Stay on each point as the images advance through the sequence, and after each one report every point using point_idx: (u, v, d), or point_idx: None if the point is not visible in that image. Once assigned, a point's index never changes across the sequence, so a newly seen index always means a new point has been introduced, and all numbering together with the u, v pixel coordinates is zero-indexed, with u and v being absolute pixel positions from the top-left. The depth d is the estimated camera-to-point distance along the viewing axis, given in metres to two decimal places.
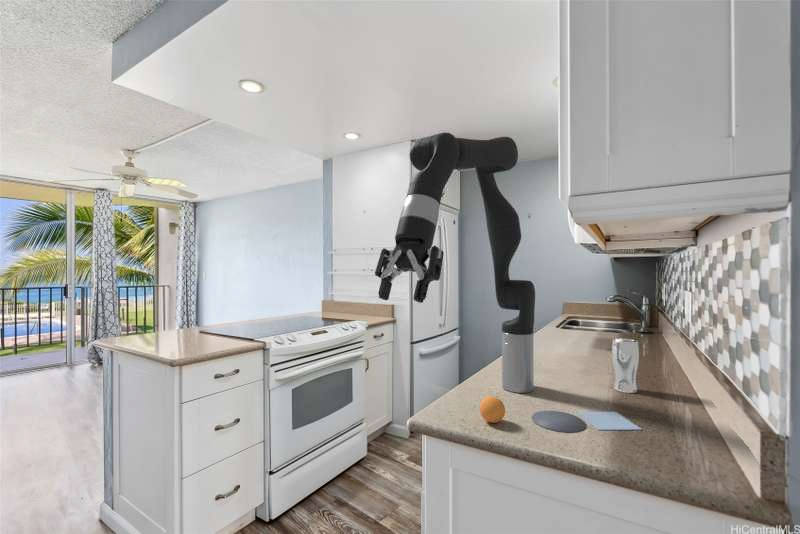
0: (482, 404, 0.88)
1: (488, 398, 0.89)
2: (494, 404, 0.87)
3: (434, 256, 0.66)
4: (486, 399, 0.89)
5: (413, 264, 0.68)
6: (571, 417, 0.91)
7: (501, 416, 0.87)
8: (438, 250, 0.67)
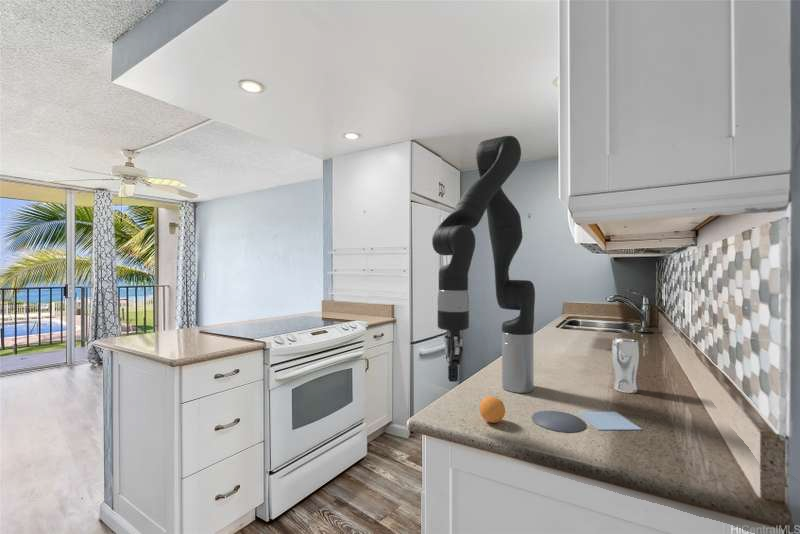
0: (482, 404, 0.88)
1: (488, 398, 0.89)
2: (494, 404, 0.87)
3: (451, 354, 0.84)
4: (486, 399, 0.89)
5: (446, 350, 0.88)
6: (571, 417, 0.91)
7: (501, 416, 0.87)
8: (454, 351, 0.83)
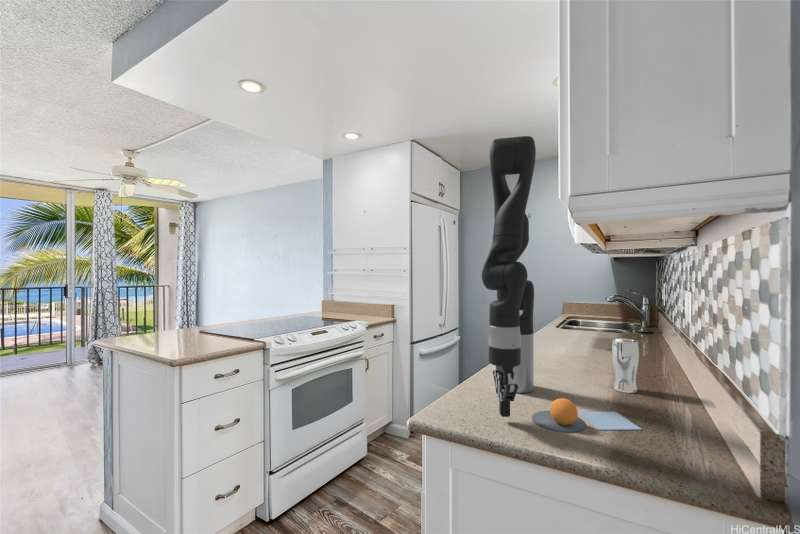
0: (554, 419, 0.87)
1: (551, 410, 0.87)
2: (559, 410, 0.85)
3: (505, 392, 0.84)
4: (551, 413, 0.87)
5: (498, 386, 0.88)
6: None
7: (574, 409, 0.85)
8: (509, 389, 0.83)
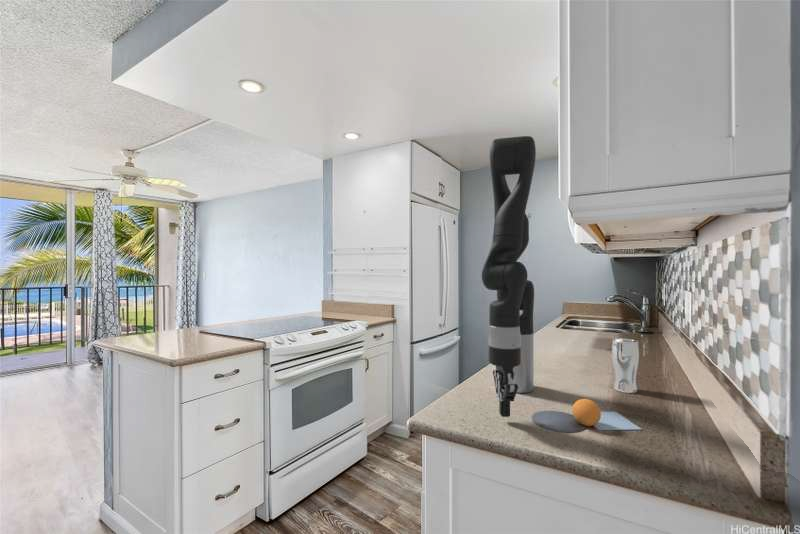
0: (583, 402, 0.86)
1: (591, 401, 0.86)
2: (596, 410, 0.85)
3: (505, 392, 0.84)
4: (588, 400, 0.86)
5: (498, 386, 0.88)
6: (571, 417, 0.91)
7: (594, 423, 0.85)
8: (509, 389, 0.83)
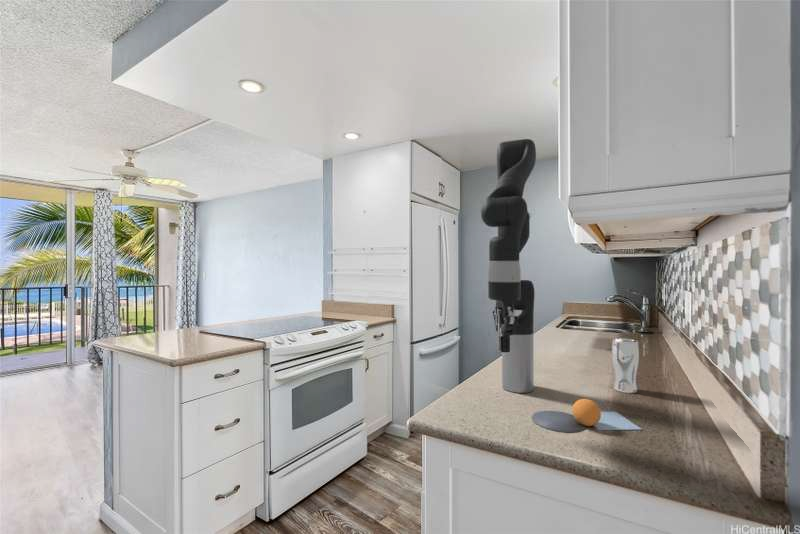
0: (583, 402, 0.86)
1: (591, 401, 0.86)
2: (596, 410, 0.85)
3: (505, 324, 0.84)
4: (588, 400, 0.86)
5: (498, 321, 0.88)
6: (571, 417, 0.91)
7: (594, 423, 0.85)
8: (509, 321, 0.83)
